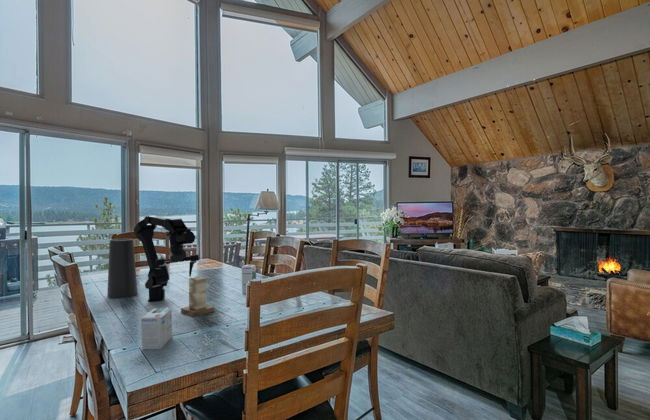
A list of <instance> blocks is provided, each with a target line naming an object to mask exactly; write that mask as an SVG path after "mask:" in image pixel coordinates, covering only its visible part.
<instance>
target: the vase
mask: <svg viewBox="0 0 650 420" xmlns="http://www.w3.org/2000/svg"><path fill="white" fill-rule="evenodd" d="M108 245H109V248H108V249H109V251H108V273H107V274H108V276H107V290H106V291H107V298H108V297H109V298H108V299H125V297H126V298H130V297H134V296H136V295H137V294H138V281H137V270H136V269H137V268H136V258H135V257H136V255H135V244H134V239H133V238H129V237H128V238H127V237H126V238H113V239H110V240H109V244H108Z"/></svg>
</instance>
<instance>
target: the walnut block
mask: <svg viewBox="0 0 650 420" xmlns="http://www.w3.org/2000/svg"><path fill="white" fill-rule="evenodd" d="M212 312H215V307H214V306H212V305H208V304H206V307H204V308H201V309H197V310H196V309H192V308H189V305H188V306H184V307H181V308H180V313H181V314H184V315H187V316H190V317H192V318H196V317H199V316H203V315H206V314H207V315H208V314H210V313H212Z"/></svg>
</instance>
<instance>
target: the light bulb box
mask: <svg viewBox="0 0 650 420" xmlns="http://www.w3.org/2000/svg"><path fill="white" fill-rule="evenodd" d="M172 313H173V308H172V307H160V308H159V307H158V308H157V307H156V308H155V307H154V308H152V309H151V310H150V311H148V312H147V313H146V314H145V315H144V316H142V317H141V318H140V326H141V328H140V330H141V332H140V333H141V350H162V349H163V348H164V347H165V345H166V344H167V343H168V342H169V341H170V340H171V338H173V317H172V315H173V314H172Z"/></svg>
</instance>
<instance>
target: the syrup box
mask: <svg viewBox="0 0 650 420" xmlns="http://www.w3.org/2000/svg"><path fill="white" fill-rule="evenodd" d="M253 279H256V280H257V268H256V264H245V265H243V266H241V294H243V293H244V294H245V295H247V294H246V284H247V283H248V281H250V280H253Z"/></svg>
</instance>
